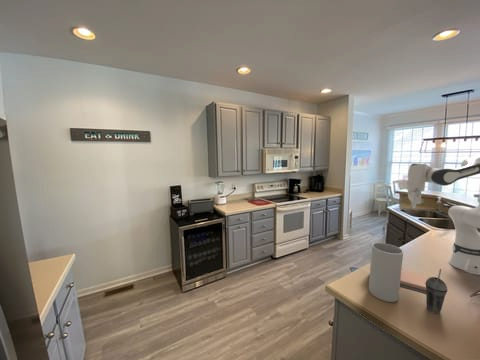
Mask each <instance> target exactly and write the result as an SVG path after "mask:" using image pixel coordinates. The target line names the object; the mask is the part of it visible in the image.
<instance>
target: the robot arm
mask: <svg viewBox="0 0 480 360" xmlns="http://www.w3.org/2000/svg"><path fill="white" fill-rule="evenodd" d="M476 175H480V154H479V155H476V156H472V157H471V156H470V157H469V158H466V159H464V160H462V162H461V165H460V167H458V168H454V169H452V168H437V167H432V166H430V165H428V164H427V163H425V162H414V163H411V164H410V165H409V168H408V171H407V182H406V190H407V197H408V199H409V201H410V206H411V209H413V210H414V209H416V207H417V205H421V204H422V193H423V192H424V191H425V188H426V187H425V186H426V183H428V184H435V185H439V186H445V187H446V186H450V185H452V184H453V183H456V182H457V181H460V180H462V179H466V178H468V177H472V176H476ZM477 203H478V205H477V206H476V207H470V206H465V205H453V206H451V207H449V209H448V211H447V214H448V217H449V218H450V219H451V220H452V222H453V225H454V230H455V237H454V242H453V245H452V254H451V257H450V259H449V260H448V264H449V265H451V266H452V267H454V268H457V269H459V270H461V271H463V272H466V273H467V274H471V275H477V276H480V232H479V231H478V229H480V196H479V197H477Z"/></svg>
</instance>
